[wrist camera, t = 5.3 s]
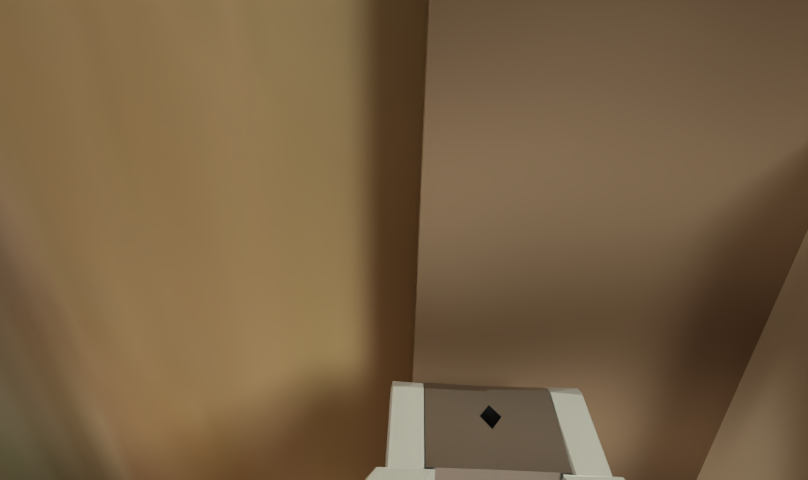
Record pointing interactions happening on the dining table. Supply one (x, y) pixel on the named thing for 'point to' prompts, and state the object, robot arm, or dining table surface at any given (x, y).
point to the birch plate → (770, 396)
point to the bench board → (611, 206)
